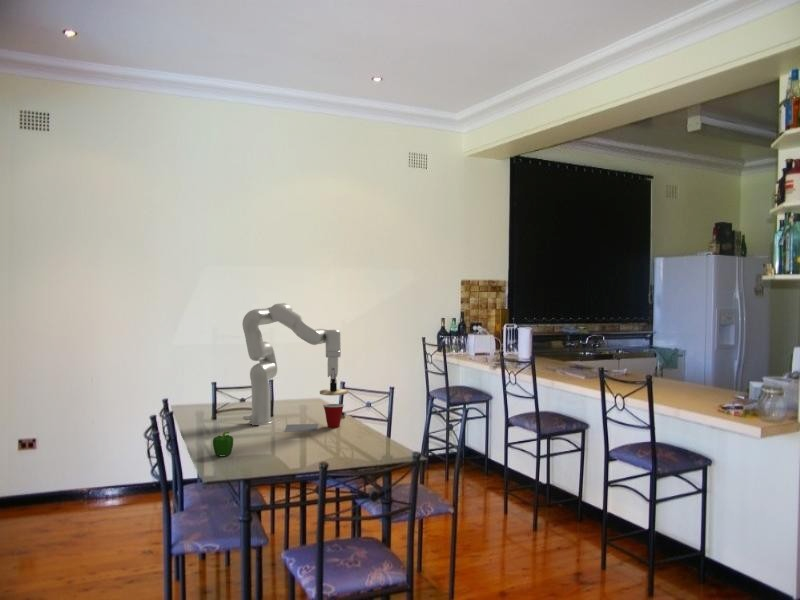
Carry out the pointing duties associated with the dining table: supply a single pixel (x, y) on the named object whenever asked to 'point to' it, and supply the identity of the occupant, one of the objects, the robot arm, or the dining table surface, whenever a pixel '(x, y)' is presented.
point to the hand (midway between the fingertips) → (333, 389)
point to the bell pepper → (223, 444)
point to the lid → (328, 392)
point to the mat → (301, 427)
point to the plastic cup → (333, 414)
